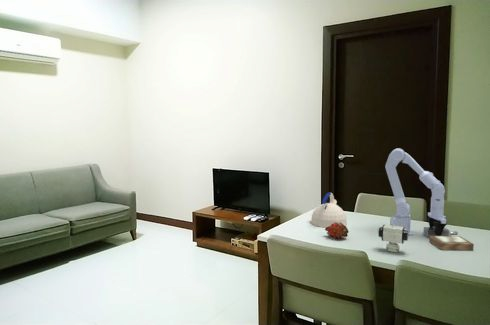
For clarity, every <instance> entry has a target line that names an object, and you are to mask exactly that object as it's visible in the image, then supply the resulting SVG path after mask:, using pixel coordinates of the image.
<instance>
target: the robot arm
mask: <svg viewBox="0 0 490 325" xmlns="http://www.w3.org/2000/svg"><path fill="white" fill-rule="evenodd" d="M400 162H401V163H402V164H407V165H408V166H409V167H410V168H411V169H412V170H413V171H414V172H416V173H417V174H418V175H419V178H418V179H419V180H420V182H422V183H423V184H424V185H425V186H426V187H427V188H428V189H430V191H431V197H430V212H427V217H426V221H427V223H428V225H429V226H428V227H433V226H435V230H436V236H441V235H442V232H443V229H444V228H446V226H447V224H448V223H447V219H446V217H447V216H446V215H444V209H445V208H444V207H445V193H446V190H445V186H444V185H443V183H441V180H438V179H437V178H436V177H435V176H434V173H433V172H430V171H428V170H424V168H422V166H420V164H418V162H417V161H416V160H415V159H414V158H413V157H412V156H411V155H410V154H409V153H407V152H405V150H404V149H402V148H400V147H399V148H398V147H397V148H395V149H393V150H392V151H391V152H390V153H389V155H388V158H387V160H386V162H385V167H384V168H385V171H386V174H387V178H388V180H389V184H390V187H391V190H392V193H393V197H394V200H395V204H396V213H395V215H391V216H390V218H389V225H391V226H392V225H395V226H399V227H405V229H406V231H408V236H409V235H410V236H411V235H412V236H413V235H414V233H413V232H412V231H411V223H412V220H411V219H412V215H411V204H409V203H408V202H407V199H406V197H405V194H404V190H403V188H402V184H401V181H400V178H399V175H398V171H397V166H398V164H399V163H400Z"/></svg>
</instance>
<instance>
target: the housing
mask: <svg viewBox="0 0 490 325" xmlns="http://www.w3.org/2000/svg"><path fill="white" fill-rule="evenodd" d="M449 231H450V229H448V228H447V227H444V229H443V232H442V235H441V236H449ZM422 236H424V237H425V236H426V238H427V239H429V238H430V236H436V230H435V226H433V227H430V226H424V227H423V233H422Z"/></svg>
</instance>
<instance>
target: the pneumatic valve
mask: <svg viewBox="0 0 490 325" xmlns="http://www.w3.org/2000/svg"><path fill="white" fill-rule="evenodd" d="M378 238H380V239H381V241H383V242H388V243H386V244H385V248H386V250H387V251H388V252H390V253H398V252H400V245H399V244H402V245H403V244H404V243H405V241H406V242H407V241H409V235H408V231H406V229H405V227H399V226H395V225H392V226H391V225H390V224H383V225H382V227H381V226H380V227H378Z"/></svg>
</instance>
